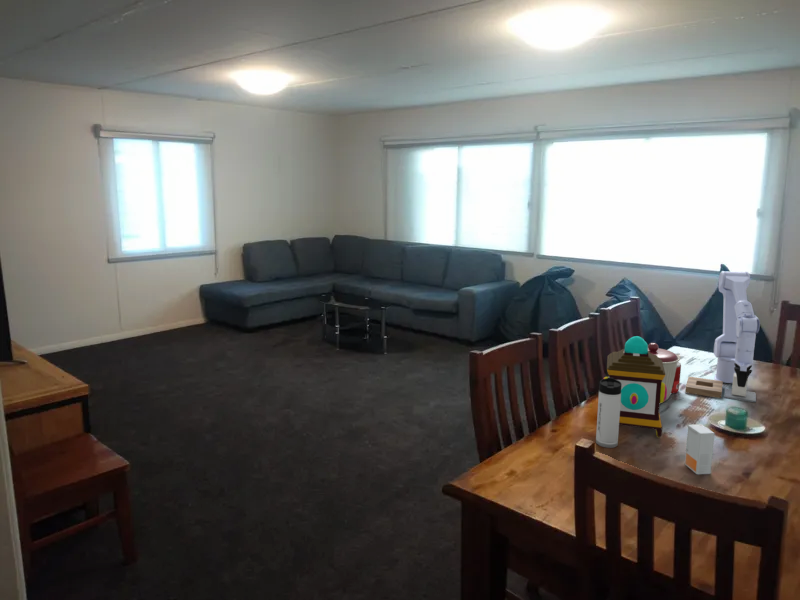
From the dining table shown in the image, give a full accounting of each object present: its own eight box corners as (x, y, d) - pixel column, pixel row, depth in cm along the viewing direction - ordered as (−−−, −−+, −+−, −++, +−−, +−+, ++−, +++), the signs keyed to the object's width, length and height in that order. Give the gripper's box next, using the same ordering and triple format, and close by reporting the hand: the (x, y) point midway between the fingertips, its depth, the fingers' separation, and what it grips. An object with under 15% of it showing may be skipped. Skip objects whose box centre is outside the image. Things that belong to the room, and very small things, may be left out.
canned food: (674, 387, 226) (676, 359, 224) (682, 394, 218) (684, 366, 216) (654, 386, 227) (656, 359, 225) (661, 393, 219) (663, 365, 217)
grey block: (731, 390, 219) (733, 373, 217) (745, 392, 217) (747, 375, 215) (731, 394, 215) (733, 376, 214) (745, 396, 213) (747, 378, 211)
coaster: (725, 389, 222) (725, 388, 222) (755, 394, 217) (755, 392, 217) (724, 397, 214) (724, 396, 214) (755, 402, 209) (756, 400, 209)
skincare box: (683, 464, 162) (687, 424, 160) (698, 463, 163) (702, 423, 160) (696, 475, 156) (700, 433, 154) (711, 474, 157) (715, 432, 154)
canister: (669, 411, 201) (674, 352, 198) (616, 400, 212) (620, 344, 208) (681, 396, 216) (686, 341, 212) (631, 387, 226) (634, 334, 222)
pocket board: (688, 382, 231) (688, 376, 231) (722, 387, 225) (722, 381, 225) (685, 392, 219) (685, 386, 219) (721, 398, 214) (721, 391, 213)
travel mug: (617, 440, 178) (621, 378, 174) (617, 449, 172) (622, 385, 168) (595, 437, 180) (599, 376, 176) (595, 446, 174) (599, 383, 170)
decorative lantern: (597, 432, 185) (603, 341, 179) (599, 410, 203) (604, 327, 197) (666, 440, 178) (674, 346, 172) (661, 417, 196) (668, 331, 190)
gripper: (732, 343, 220) (729, 377, 223) (732, 352, 208) (728, 388, 211) (754, 345, 217) (750, 380, 220) (755, 355, 205) (751, 391, 207)
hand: (741, 384), depth 215 cm, fingers closed on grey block, 4 cm apart
